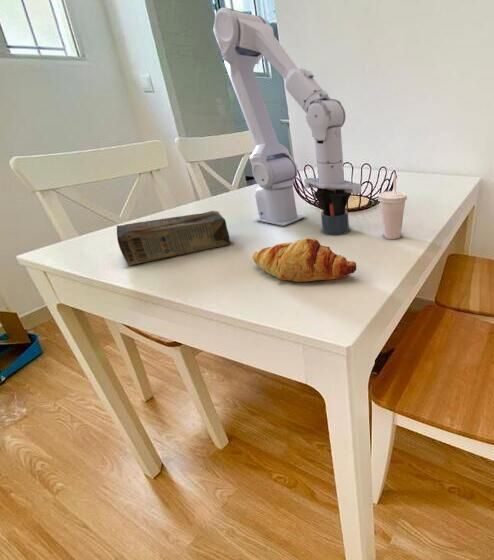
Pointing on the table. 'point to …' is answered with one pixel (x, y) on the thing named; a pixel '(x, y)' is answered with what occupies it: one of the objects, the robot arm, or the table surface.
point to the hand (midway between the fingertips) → (335, 220)
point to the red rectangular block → (331, 209)
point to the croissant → (303, 261)
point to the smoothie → (392, 211)
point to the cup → (335, 223)
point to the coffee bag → (171, 236)
